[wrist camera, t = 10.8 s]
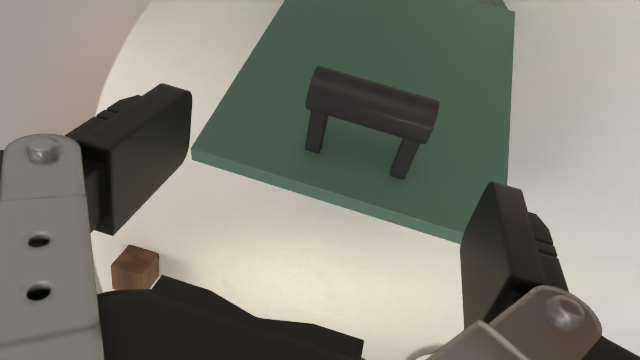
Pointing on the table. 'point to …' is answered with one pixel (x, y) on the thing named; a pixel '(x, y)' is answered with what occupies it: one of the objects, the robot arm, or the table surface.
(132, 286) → the block
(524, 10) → the table surface
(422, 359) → the flower in vase
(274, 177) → the lid
